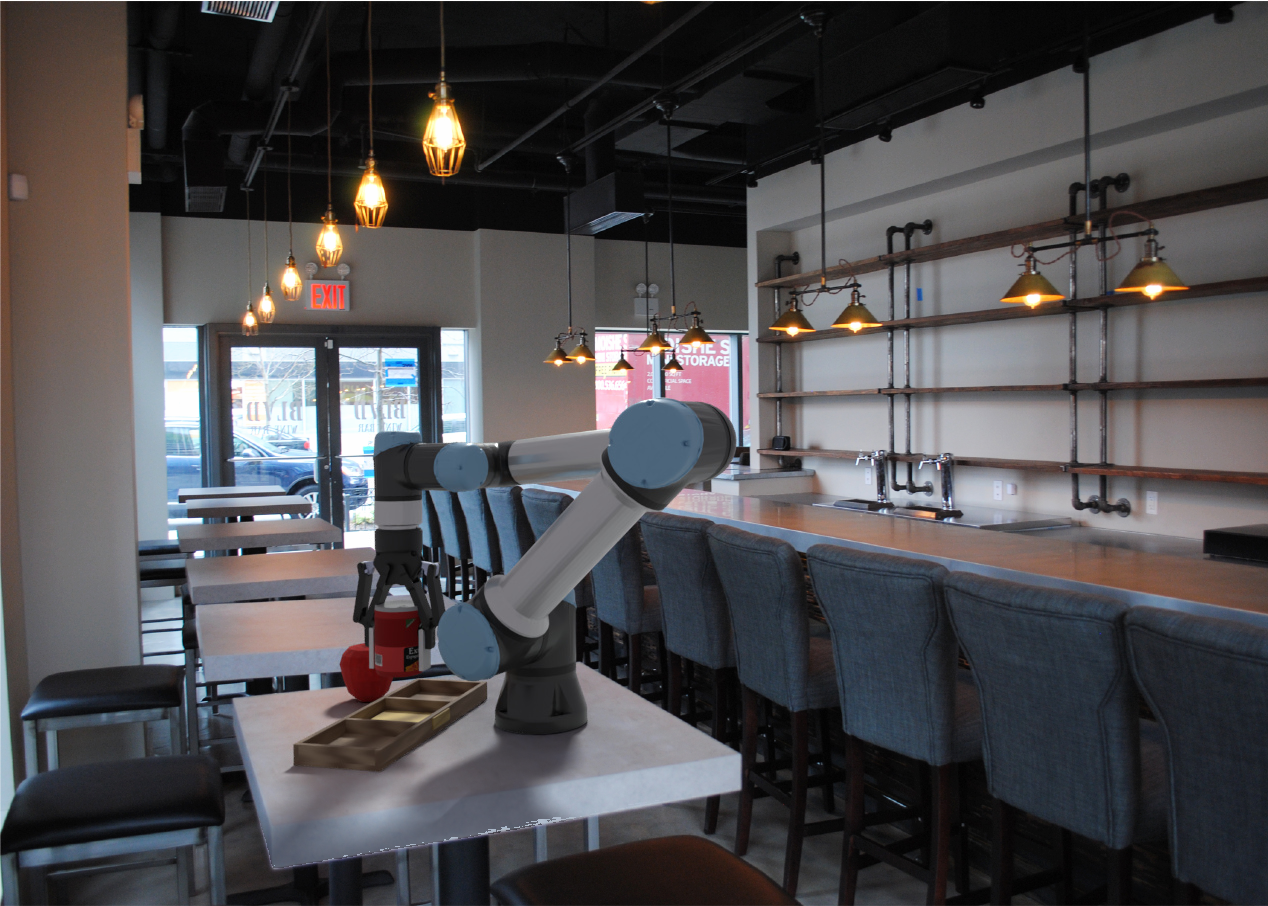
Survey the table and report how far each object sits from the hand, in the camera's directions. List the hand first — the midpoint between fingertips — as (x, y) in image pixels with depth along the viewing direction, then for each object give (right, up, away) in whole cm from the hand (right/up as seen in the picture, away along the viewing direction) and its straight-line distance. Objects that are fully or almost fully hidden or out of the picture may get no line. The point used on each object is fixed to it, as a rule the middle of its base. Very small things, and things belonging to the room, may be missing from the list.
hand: (400, 667), depth 154 cm
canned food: (0, -1, 0) cm, 1 cm away
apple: (-10, -10, +18) cm, 23 cm away
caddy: (0, -10, 0) cm, 10 cm away
